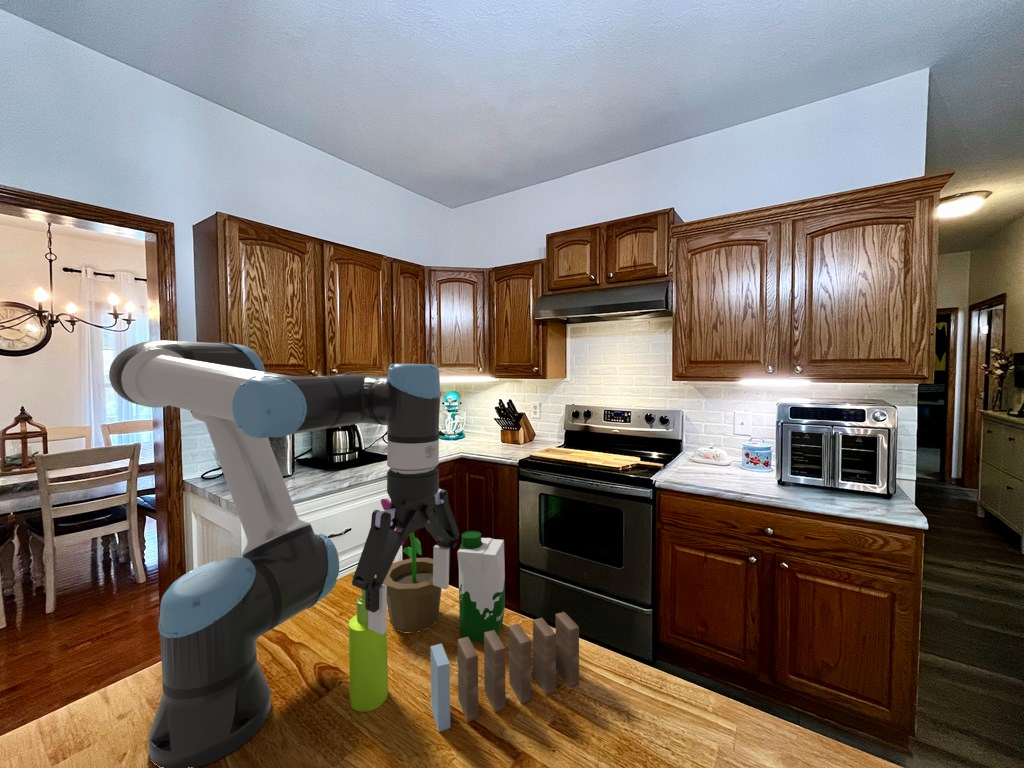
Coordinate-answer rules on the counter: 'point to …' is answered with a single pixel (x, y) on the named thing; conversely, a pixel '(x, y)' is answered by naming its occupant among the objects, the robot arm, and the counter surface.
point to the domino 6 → (567, 649)
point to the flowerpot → (411, 589)
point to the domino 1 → (440, 687)
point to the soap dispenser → (366, 662)
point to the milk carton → (481, 585)
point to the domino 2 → (468, 678)
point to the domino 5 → (544, 656)
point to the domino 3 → (494, 670)
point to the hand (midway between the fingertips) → (411, 606)
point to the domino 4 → (520, 663)
